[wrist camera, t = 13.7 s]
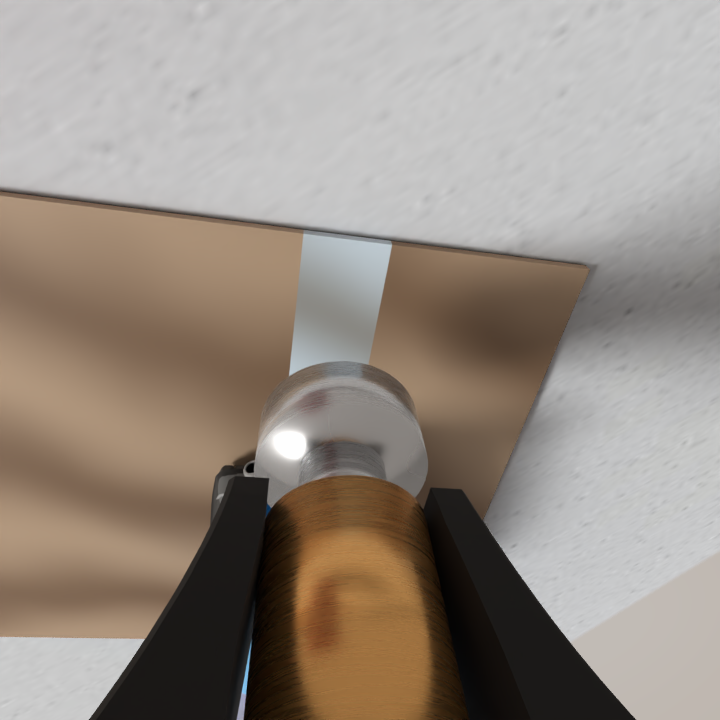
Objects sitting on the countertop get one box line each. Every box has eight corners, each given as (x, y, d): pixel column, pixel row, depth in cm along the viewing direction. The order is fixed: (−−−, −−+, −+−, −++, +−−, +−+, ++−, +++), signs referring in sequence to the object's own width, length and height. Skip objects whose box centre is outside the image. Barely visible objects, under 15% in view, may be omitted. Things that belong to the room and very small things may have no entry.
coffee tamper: (419, 470, 13) (503, 836, 7) (277, 489, 13) (246, 868, 7) (412, 351, 11) (516, 723, 5) (244, 373, 11) (166, 768, 5)
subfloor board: (429, 636, 26) (430, 642, 26) (-108, 628, 23) (-113, 635, 22) (585, 265, 15) (590, 269, 15) (-398, 141, 12) (-413, 144, 12)
